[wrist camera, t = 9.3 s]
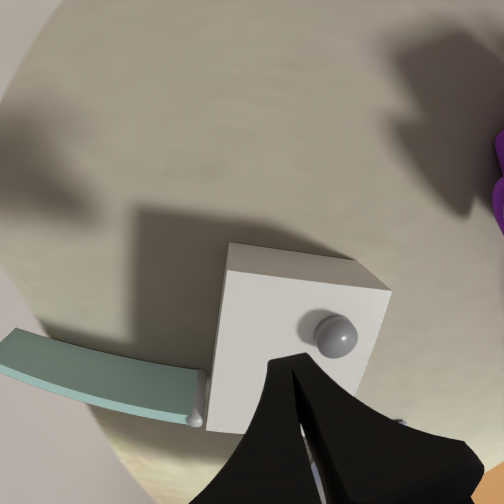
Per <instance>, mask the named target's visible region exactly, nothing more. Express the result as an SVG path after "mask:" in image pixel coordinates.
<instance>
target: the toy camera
mask: <svg viewBox="0 0 504 504" xmlns="http://www.w3.org/2000/svg"><path fill="white" fill-rule="evenodd" d="M495 148H496V153H497V157H498V160H499V164H500V167H501V170H502V174H503V177H502V178H500V179H499V180H498V181H497V182H496V184H495V186H494V189H493V192H492V206H493V211H494V215H495V218H496V221H497V223H498V225H499V227H500V229H501V231H502V233H503V235H504V129H503V130H502V131H500V132H499V134H498V135H497V137H496V139H495Z"/></svg>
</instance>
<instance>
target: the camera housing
mask: <svg viewBox="0 0 504 504" xmlns="http://www.w3.org/2000/svg"><path fill="white" fill-rule="evenodd" d="M391 293H392V290H391V289H389V288H388V287H387V286H386V285H385V284H384V283H383V282H381V281H380V280H379V279H378V278H377V277H376V276H374V275H373V274H372V273H371V272H370V271H369V270H367V269H366V268H365V267H364V266H363V265H362V264H360V263H359V262H358V261H355V260H348V259H341V258H335V257H328V256H321V255H314V254H307V253H300V252H294V251H287V250H280V249H273V248H266V247H259V246H252V245H245V244H238V243H231V242H229V245H228V252H227V259H226V266H225V273H224V280H223V287H222V294H221V301H220V309H219V316H218V323H217V331H216V339H215V346H214V354H213V362H212V370H211V378H210V388H209V400H208V412H207V425H206V431H215V432H225V433H236V434H245V432H246V431H247V429H248V427H249V424H250V422H251V420H252V418H253V415H254V413H255V411H256V408H257V406H258V403H259V400H260V397H261V394H262V390H263V387H264V383H265V379H266V373H267V363H268V361H269V360H270V359H276V358H281V357H285V356H290V355H295V354H299V353H304V352H306V353H308V354H309V355H310V356H311V357H312V359H313V360H314V361H315V362H316V363H317V364H318V365H319V366H320V367H321V369H322V370H323V371H324V372H325V373H326V374H328V375H329V376H330V377H331V378H332V379H333V380H334V381H335V382H336V383H337V384H339V385H340V386H341V387H342V388H343V389H345V390H346V391H347V392H348V393H350V394H351V395H352V396H354V395H355V393H356V390H357V388H358V385H359V383H360V381H361V378H362V376H363V373H364V371H365V368H366V366H367V363H368V360H369V358H370V355H371V352H372V350H373V347H374V344H375V341H376V339H377V336H378V333H379V330H380V327H381V324H382V321H383V318H384V315H385V312H386V309H387V306H388V303H389V299H390V296H391ZM300 424H301V423H300ZM301 432H302V436H305V435H304V432H303V429H302V426H301Z"/></svg>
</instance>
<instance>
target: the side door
mask: <svg viewBox="0 0 504 504" xmlns="http://www.w3.org/2000/svg"><path fill="white" fill-rule="evenodd" d="M0 372H1V373H3V374H5V375H8V376H10V377H13V378H15V379H18V380H20V381H23V382H25V383H28V384H30V385H33V386H36V387H39V388H41V389H44V390H47V391H50V392H53V393H56V394H59V395H63V396H65V397H68V398H72V399H75V400H78V401H82V402H85V403H89V404H92V405H96V406H100V407H103V408H107V409H111V410H115V411H120V412H124V413H128V414H133V415H137V416H142V417H147V418H152V419H157V420H163V421H168V422H174V423H181V424H187V425H189V426H191V427H200V426H201V425H202V423H203V412H204V402H205V392H206V382H207V372H206V371H204V370H202V369H198V370H192V369H186V368H180V367H174V366H168V365H162V364H156V363H151V362H146V361H141V360H136V359H131V358H126V357H121V356H117V355H112V354H108V353H104V352H100V351H95V350H91V349H87V348H83V347H79V346H76V345H72V344H68V343H65V342H61V341H57V340H54V339H50V338H47V337H44V336H40V335H37V334H34V333H31V332H28V331H24V330H21V329H18V328H15V329H14V330H13V331H12V332H11V333H10V334H9V335H8V336H7V337H6V338H4V339H3V340H2V341H1V342H0Z"/></svg>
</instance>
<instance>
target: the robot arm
mask: <svg viewBox="0 0 504 504" xmlns="http://www.w3.org/2000/svg"><path fill="white" fill-rule="evenodd" d="M300 423H301V424H300ZM301 426H302V429H303V432H304V435H305V437H306V440H307V443H308V446H309V448H310V451H311V454H312V457H313V459H314V460H313V462H312V464H311V465H310V461H309V458H308V454H307V451H306V447H305V443H304V440H303V436H302V432H301ZM483 474H484V465H483V464H482V462H481V461H480V459H479V458H478V456H477V455H476V454H475V453H474V452H473V450H472V449H471V448H470V447H469V446H468V445H467V444H466V443H465V442H464V441H460V440H455V439H450V438H446V437H441V436H436V435H432V434H429V433H426V432H423V431H419V430H416V429H413V428H411V427H408V424H407V423H406V422H397V421H394V420H392V419H390V418H388V417H386V416H384V415H382V414H380V413H379V412H377V411H375V410H373V409H372V408H370V407H368V406H367V405H365V404H364V403H362V402H361V401H359V400H358V399H356V398H355V397H354V396H352V395H351V394H350V393H348V392H347V391H346V390H345V389H343V388H342V387H341V386H340V385H339V384H337V383H336V382H335V381H334V380H333V379H332V378H331V377H330V376H329V375H328V374H326V373H325V372H324V371H323V370H322V369H321V367H320V366H319V365H318V364H317V363H316V362H315V361H314V360H313V359H312V357H311V356H310V355H309V354H308V353H306V352H304V353H299V354H295V355H290V356H285V357H281V358H276V359H270V360H269V361H268V363H267V373H266V379H265V383H264V387H263V390H262V394H261V397H260V400H259V403H258V406H257V408H256V411H255V413H254V415H253V418H252V420H251V422H250V424H249V427H248V429H247V431H246V432H245V434H244V436H243V438H242V440H241V441H240V443H239V445H238V446H237V448H236V449H235V451H234V452H233V454H232V456H231V457H230V458H229V460H228V461H227V463H226V464H225V465H224V467H223V468H222V469H221V470H220V471H219V473H218V474H217V475H216V476H215V477H214V479H213V480H212V481H211V482H210V483H209V484H208V485H207V486H206V488H205V489H204V490H203V491H202V492H200V493H199V494H198V495H197V496H196V497H195V498H194V499H193V500H192V501H191V502H190V503H189V504H474V502H473V500H472V498H471V495H472V494H473V492H474V490H475V489H476V487H477V486H478V484H479V482H480V481H481V479H482V476H483Z"/></svg>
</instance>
